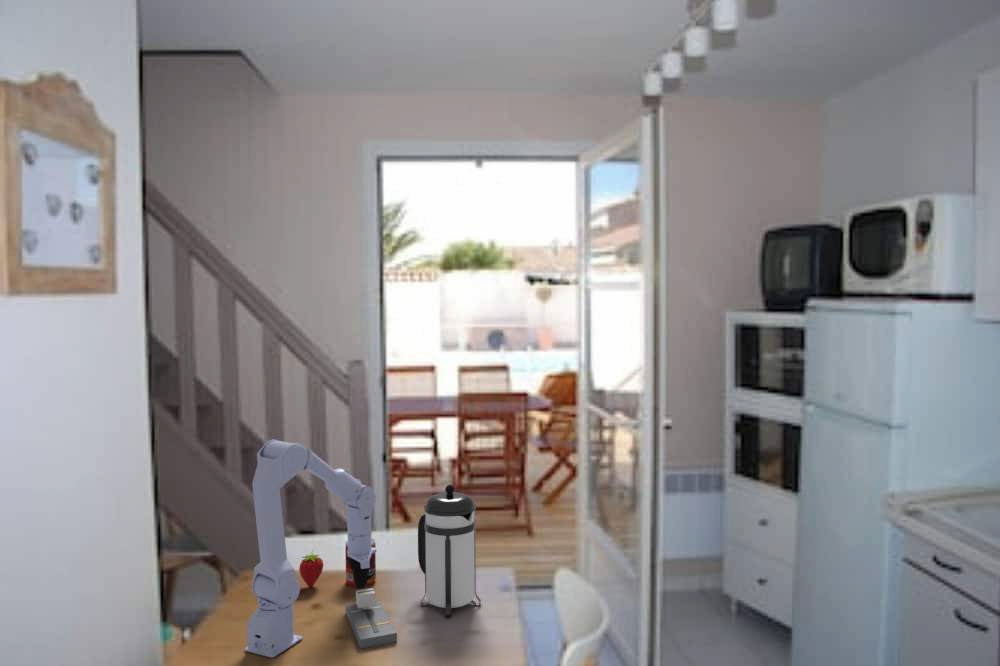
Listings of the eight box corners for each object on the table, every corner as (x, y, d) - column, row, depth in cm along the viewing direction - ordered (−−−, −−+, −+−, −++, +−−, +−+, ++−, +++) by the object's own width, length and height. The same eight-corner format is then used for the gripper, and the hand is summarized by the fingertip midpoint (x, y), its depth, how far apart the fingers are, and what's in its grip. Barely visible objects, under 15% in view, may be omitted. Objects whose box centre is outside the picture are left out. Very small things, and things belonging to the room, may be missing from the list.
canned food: (372, 587, 178) (372, 546, 178) (342, 587, 179) (342, 546, 178) (378, 576, 186) (378, 537, 186) (349, 576, 186) (349, 537, 186)
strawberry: (327, 581, 183) (327, 545, 182) (316, 593, 175) (316, 554, 175) (306, 580, 183) (306, 544, 183) (295, 592, 176) (294, 553, 176)
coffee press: (484, 592, 175) (484, 477, 174) (476, 619, 159) (475, 493, 158) (419, 590, 177) (418, 476, 176) (404, 617, 161) (403, 491, 160)
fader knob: (375, 609, 160) (375, 592, 160) (358, 612, 158) (358, 595, 158) (372, 604, 162) (372, 587, 162) (356, 607, 161) (355, 590, 161)
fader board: (397, 641, 148) (396, 632, 148) (360, 648, 145) (360, 639, 145) (378, 607, 166) (378, 599, 166) (345, 613, 163) (345, 604, 163)
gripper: (382, 539, 161) (382, 596, 162) (369, 522, 175) (370, 574, 175) (352, 543, 159) (353, 601, 159) (342, 526, 172) (342, 579, 172)
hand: (360, 587), depth 167 cm, fingers closed
